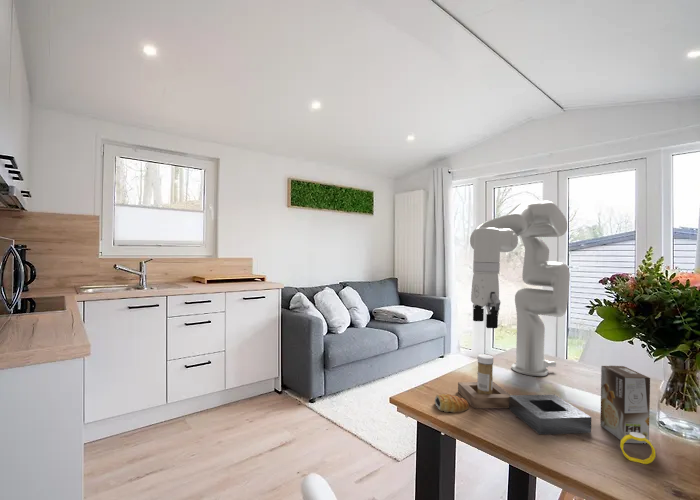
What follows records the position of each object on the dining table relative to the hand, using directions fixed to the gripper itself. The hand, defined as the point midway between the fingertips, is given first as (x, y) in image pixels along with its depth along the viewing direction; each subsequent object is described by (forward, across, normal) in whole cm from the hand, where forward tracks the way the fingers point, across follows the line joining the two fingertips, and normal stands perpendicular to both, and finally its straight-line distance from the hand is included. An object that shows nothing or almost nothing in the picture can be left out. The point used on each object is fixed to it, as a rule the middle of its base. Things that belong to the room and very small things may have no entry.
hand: (484, 324), depth 108 cm
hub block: (+23, +12, +13) cm, 29 cm away
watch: (+24, +31, +22) cm, 44 cm away
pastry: (+24, +4, -12) cm, 27 cm away
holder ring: (+23, -1, +1) cm, 23 cm away
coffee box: (+24, +19, +28) cm, 42 cm away
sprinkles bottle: (+24, -1, +1) cm, 24 cm away
